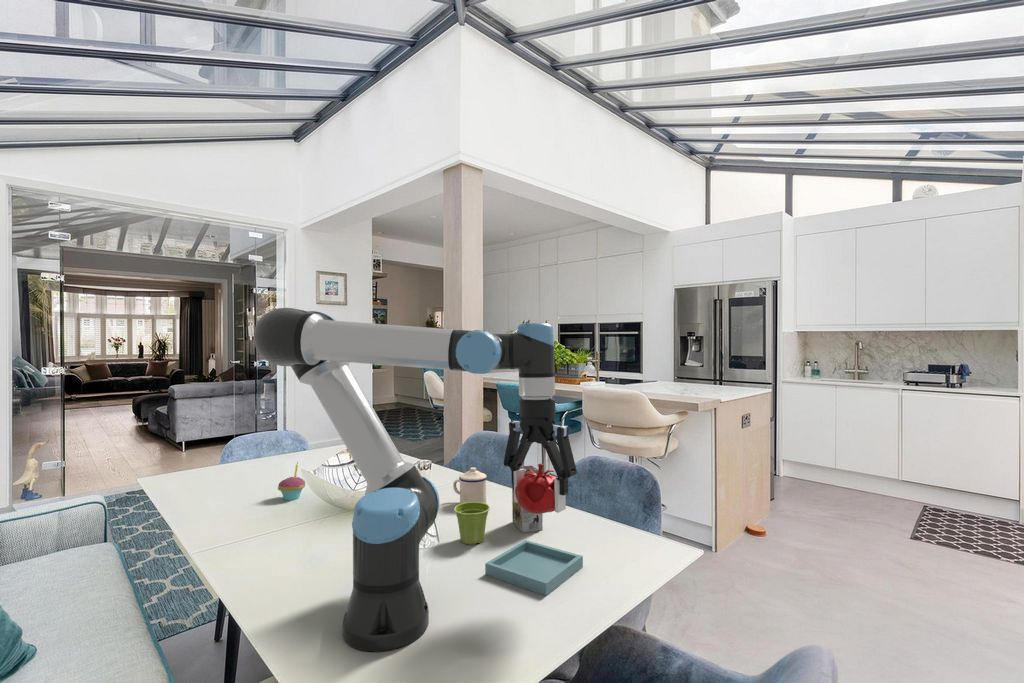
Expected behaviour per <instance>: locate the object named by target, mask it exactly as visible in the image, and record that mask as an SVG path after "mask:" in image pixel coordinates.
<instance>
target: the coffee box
mask: <svg viewBox="0 0 1024 683" xmlns="http://www.w3.org/2000/svg"><path fill="white" fill-rule="evenodd" d="M522 466H523V467H522ZM522 466H521V467H522V468H520V469H524V475H525V474H526V473H531V471H527V470H529V469H531V470H532V471H533V472H534V473H536V474H537V473H538V469H537V468H536V467H535V466H533V465H522ZM525 471H526V472H525ZM531 474H532V473H531ZM527 475H529V474H527ZM527 475H525V476H527ZM525 476H524V477H525ZM511 487H512V488H511V490H512V491H511V494H512V495H511V498H512V501H511V503H512V505H511V506H512V508H511V509H512V515H511V516H512V523H514V525H515V526H516V527H517V528H518V529H519V531H520V532H521V533H529V532H537V531H543V528H544V526H543V522H544V521H543V518H544V517H543V516H544V515H543V514H544V513H542V514H534V513H530V512H527V511H525V510H524V509H523V508H522V507H521V506H520V505H519V503H516V502H514V485H511Z"/></svg>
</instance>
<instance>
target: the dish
mask: <svg viewBox="0 0 1024 683" xmlns="http://www.w3.org/2000/svg"><path fill="white" fill-rule="evenodd" d="M484 566H485V568H484V569H485V572H484V574H485V575H486V576H487V577H491V578H494V579H497V580H500V581H503V582H505V583H509V584H512V585H514V586H517V587H520V588H523V589H526V590H529V591H531V592H534V593H537V594H540V595H543V596H546V597H547V596H548V595H550V594H551V593H552V592H553V591H554V590H555V589H557V588H559V586H561V585H562V584H563V583H564V582H566V580H568V579H569V578H571V577H572V576H573V575H574V574H576V573H577V572H578V571H580V570H581V569H582V568H583V567H584V556H583V555H581V554H577V553H573V552H570V551H566V550H562V549H558V548H556V547H555V548H554V547H552V546H548V545H544V544H541V543H537V542H534V541H530V540H523V541H521V542H519V543H518V544H517V545H514V546H513V547H511V548H509V549H507V550H506V551H504V552H503V553H501V554H499V555H497V556H495V557H494V558H492V559H490V560H488V561H487V562H485V565H484Z"/></svg>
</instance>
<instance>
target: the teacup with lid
mask: <svg viewBox="0 0 1024 683" xmlns="http://www.w3.org/2000/svg"><path fill="white" fill-rule="evenodd" d="M469 468H470V469H469V470H468V471H466V472H464V473H461V474H460V475H459V478H458V479H456V480H454V481H453V486H452V487H453V490H454V492H455V494H457V495H459V504H462V503H467V502H481V503H485V504H487V478H488V477H487V474H486V473H484V472H481V471H479V470H477V468H476V467H469ZM458 482H459V490H458V487H457V483H458Z"/></svg>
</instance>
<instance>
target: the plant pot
mask: <svg viewBox="0 0 1024 683" xmlns="http://www.w3.org/2000/svg"><path fill="white" fill-rule="evenodd" d="M490 509H491V506H490V505H489V504H487V503H486V504H485V503H481V502H467V503H462V504H460V503H458V504H457V505H455V507H454V508H453V510H454V512H455V515H456V518H457V524H458V529H459V537H460V542H462V543H463V544H465V545H471V546H472V545H476V544H478V543H479V544H481V543H482V542H484V540H485V534H486V533H485V532H486V526H487V519H488V518H487V517H488V515H489V511H490Z"/></svg>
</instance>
